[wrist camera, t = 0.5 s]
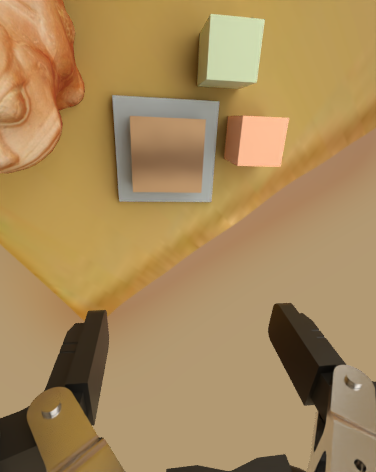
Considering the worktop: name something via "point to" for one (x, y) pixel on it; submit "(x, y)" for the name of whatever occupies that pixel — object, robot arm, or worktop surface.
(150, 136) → the walnut base
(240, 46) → the sage block
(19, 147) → the ceramic vessel
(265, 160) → the terracotta block
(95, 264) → the worktop surface
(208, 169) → the board
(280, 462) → the robot arm
